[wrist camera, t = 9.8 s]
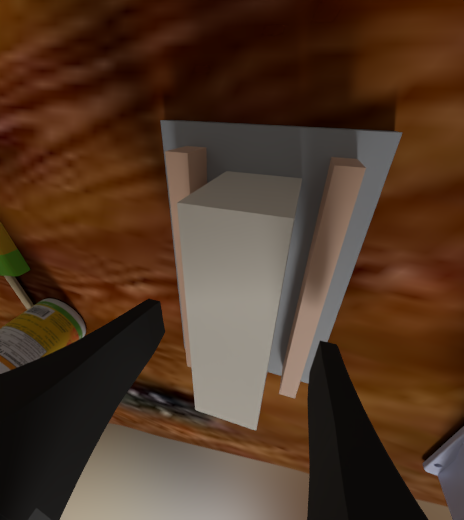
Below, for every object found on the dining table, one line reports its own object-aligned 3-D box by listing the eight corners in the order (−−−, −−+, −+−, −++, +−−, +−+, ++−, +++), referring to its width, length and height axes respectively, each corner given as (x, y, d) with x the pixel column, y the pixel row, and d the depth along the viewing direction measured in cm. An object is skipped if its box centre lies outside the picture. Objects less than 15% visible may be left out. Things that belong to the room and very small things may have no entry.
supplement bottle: (74, 341, 27) (-29, 439, 19) (35, 307, 25) (-94, 396, 17) (96, 328, 24) (-13, 436, 16) (54, 288, 23) (-90, 384, 15)
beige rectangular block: (270, 354, 17) (256, 430, 13) (223, 341, 18) (195, 409, 14) (302, 178, 11) (294, 218, 7) (226, 170, 11) (177, 202, 7)
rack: (312, 372, 18) (311, 412, 16) (189, 338, 20) (172, 369, 18) (394, 131, 10) (422, 136, 7) (171, 119, 12) (133, 121, 9)
